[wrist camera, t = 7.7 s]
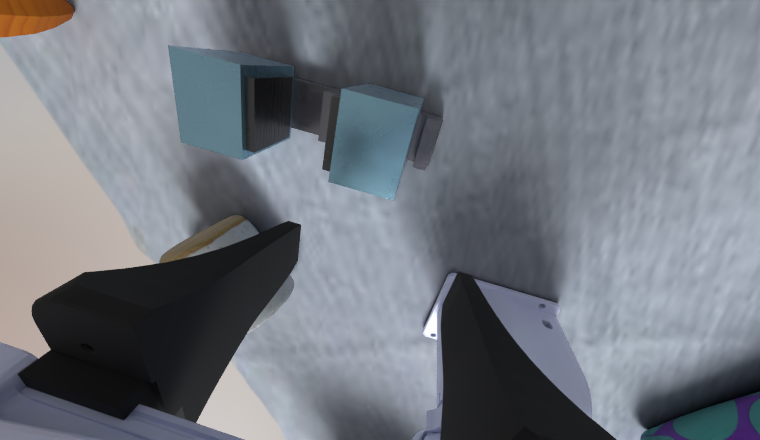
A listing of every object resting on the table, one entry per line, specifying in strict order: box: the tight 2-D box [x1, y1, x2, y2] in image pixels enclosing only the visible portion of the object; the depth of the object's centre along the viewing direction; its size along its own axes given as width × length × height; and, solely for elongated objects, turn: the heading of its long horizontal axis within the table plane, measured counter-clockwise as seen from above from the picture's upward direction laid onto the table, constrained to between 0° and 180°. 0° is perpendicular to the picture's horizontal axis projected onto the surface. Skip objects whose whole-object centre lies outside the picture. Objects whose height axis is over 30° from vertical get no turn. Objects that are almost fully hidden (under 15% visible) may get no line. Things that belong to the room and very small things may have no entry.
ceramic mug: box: [160, 215, 294, 333], centre depth 24 cm, size 11×8×8 cm
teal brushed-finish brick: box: [322, 83, 424, 200], centre depth 16 cm, size 4×4×6 cm
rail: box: [168, 45, 443, 170], centre depth 16 cm, size 14×4×7 cm, turn 77°
